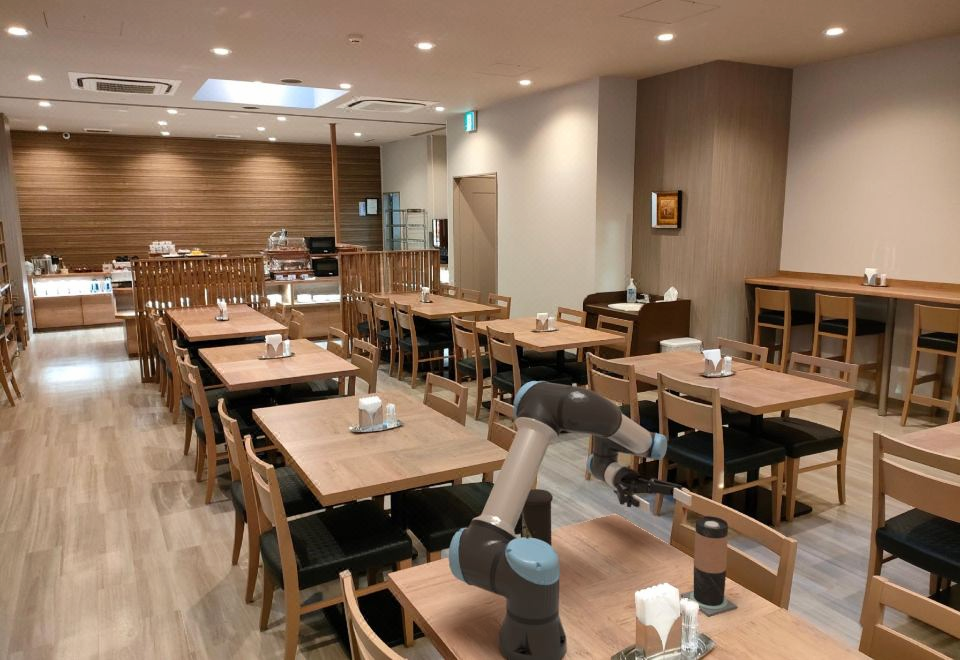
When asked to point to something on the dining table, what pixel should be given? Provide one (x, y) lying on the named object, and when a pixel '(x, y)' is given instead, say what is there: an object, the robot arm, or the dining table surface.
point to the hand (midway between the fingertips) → (669, 504)
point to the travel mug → (710, 560)
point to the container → (537, 516)
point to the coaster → (711, 610)
